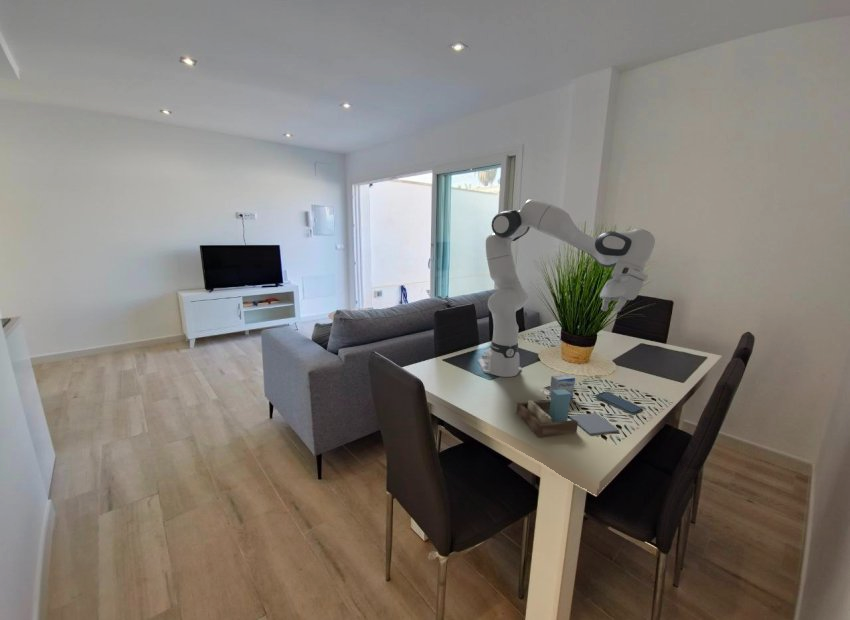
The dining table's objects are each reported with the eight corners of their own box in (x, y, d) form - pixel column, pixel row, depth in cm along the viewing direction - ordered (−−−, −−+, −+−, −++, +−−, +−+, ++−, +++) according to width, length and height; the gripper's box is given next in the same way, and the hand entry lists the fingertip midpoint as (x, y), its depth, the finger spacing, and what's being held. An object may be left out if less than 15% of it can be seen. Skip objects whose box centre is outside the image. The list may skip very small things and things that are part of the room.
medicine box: (556, 400, 135) (558, 380, 133) (548, 395, 139) (551, 375, 137) (573, 398, 137) (575, 378, 135) (565, 393, 141) (568, 373, 139)
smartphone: (632, 413, 126) (594, 394, 138) (632, 417, 126) (594, 398, 138) (644, 408, 129) (606, 390, 142) (643, 412, 130) (605, 394, 142)
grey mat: (568, 417, 123) (569, 415, 123) (595, 414, 125) (596, 413, 125) (589, 435, 113) (590, 433, 112) (618, 431, 115) (618, 429, 115)
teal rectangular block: (548, 419, 121) (551, 390, 119) (560, 417, 123) (564, 389, 120) (554, 424, 118) (557, 395, 116) (567, 423, 119) (570, 393, 117)
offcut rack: (516, 413, 125) (517, 402, 124) (550, 409, 128) (551, 399, 127) (538, 437, 110) (540, 426, 110) (576, 432, 114) (578, 421, 113)
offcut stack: (526, 417, 123) (528, 400, 121) (535, 416, 123) (537, 399, 122) (540, 431, 114) (542, 413, 113) (550, 430, 115) (552, 412, 113)
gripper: (604, 273, 133) (589, 306, 134) (632, 268, 113) (614, 307, 113) (619, 280, 133) (604, 313, 133) (651, 275, 112) (633, 315, 113)
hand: (609, 310), depth 123 cm, fingers open, 8 cm apart
